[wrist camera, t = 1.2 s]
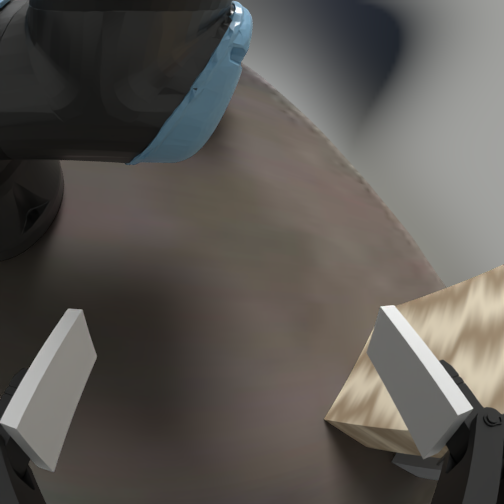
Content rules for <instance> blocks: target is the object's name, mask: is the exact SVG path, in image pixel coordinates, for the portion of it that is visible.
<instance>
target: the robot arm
mask: <svg viewBox="0 0 504 504" xmlns="http://www.w3.org/2000/svg"><path fill="white" fill-rule="evenodd" d="M251 36H252V17H251V15H250V13H249V11H248V10H247V9H246V8H245V7H243V6H242V5H241V4H240V3H239V2H235V1H233V0H0V261H1V260H6V259H9V258H12V257H14V256H16V255H18V254H20V253H22V252H24V251H25V250H27V249H28V248H29V247H31V246H32V245H33V244H34V243H35V242H36V241H37V240H38V239H39V238H40V237H41V236H42V235H43V234H44V233H45V231H46V230H47V229H48V227H49V226H50V224H51V223H52V221H53V219H54V217H55V215H56V213H57V211H58V209H59V206H60V203H61V199H62V195H63V187H64V180H63V173H62V169H61V165H60V161H59V160H78V161H101V162H119V163H125V164H126V165H131V164H132V165H135V164H138V163H140V162H161V163H175V162H180V161H183V160H185V159H188V158H190V157H191V156H193V155H194V154H195V153H196V152H198V151H199V150H200V149H201V148H202V147H203V146H204V144H205V143H206V142H207V141H208V139H209V138H210V136H211V135H212V133H213V132H214V130H215V129H216V127H217V125H218V123H219V122H220V120H221V118H222V116H223V114H224V112H225V110H226V108H227V106H228V104H229V102H230V99H231V97H232V95H233V93H234V90H235V88H236V85H237V83H238V80H239V78H240V75H241V71H242V67H241V61H242V60H243V58H244V56H245V55H246V53H247V51H248V48H249V45H250V40H251ZM366 353H367V355H368V357H369V358H370V360H371V362H372V364H373V365H374V367H375V369H376V371H377V373H378V374H379V376H380V378H381V380H382V382H383V383H384V385H385V387H386V389H387V391H388V393H389V394H390V396H391V398H392V400H393V402H394V404H395V406H396V407H397V409H398V411H399V413H400V415H401V417H402V419H403V421H404V423H405V425H406V426H407V428H408V430H409V432H410V434H411V436H412V438H413V440H414V442H415V444H416V446H417V448H418V450H419V452H420V454H421V456H422V458H423V459H425V458H428V457H430V456H433V455H435V454H437V453H439V452H440V451H441V449H442V448H443V447H444V446H445V445H446V446H447V448H448V449H449V450H448V451H447V452H446V453H445V454H444V455H443V456H442V457H441V459H440V460H439V461H438V462H437V464H436V465H437V466H439V465H440V463H441V462H442V461H443V460H444V462H443V465H442V469H441V473H440V477H439V480H438V483H437V487H436V490H435V493H434V496H433V499H432V502H431V504H504V414H501V413H500V412H499V411H497V410H496V409H494V408H492V407H485V408H484V407H483V406H482V405H481V404H480V402H479V401H478V400H477V398H476V397H475V395H474V394H473V393H472V391H471V390H470V389H469V387H468V386H467V385H466V383H464V381H463V379H462V378H461V377H459V374H458V373H457V371H456V370H455V369H454V368H453V366H451V365H450V364H449V363H447V362H446V361H444V360H439V361H438V359H437V358H436V357H435V355H434V354H433V353H432V352H431V350H430V349H429V348H428V346H427V345H426V344H425V343H424V341H423V340H422V339H421V338H420V336H419V335H418V334H417V333H416V331H415V330H414V329H413V328H412V326H411V325H410V324H409V323H408V322H407V320H406V319H405V318H404V317H403V315H402V314H401V313H400V312H399V311H398V309H397V308H396V307H395V306H394V305H391V306H380V309H379V312H378V316H377V320H376V323H375V326H374V330H373V333H372V336H371V340H370V343H369V346H368V349H367V352H366ZM96 359H97V355H96V352H95V349H94V346H93V343H92V340H91V337H90V334H89V330H88V327H87V324H86V320H85V317H84V313H83V309H69V308H68V309H67V311H66V312H65V314H64V315H63V317H62V318H61V320H60V321H59V322H58V324H57V325H56V327H55V328H54V330H53V331H52V333H51V334H50V336H49V337H48V339H47V340H46V342H45V344H44V345H43V347H42V348H41V350H40V351H39V353H38V355H37V356H36V358H35V359H34V361H33V363H32V364H31V366H30V368H29V369H25V368H23V369H22V370H20V371H19V372H18V373H17V374H16V375H15V376H14V377H13V379H12V381H11V382H10V384H9V387H7V389H6V391H5V392H4V393H5V394H3V396H2V398H1V400H0V504H46V502H45V500H44V498H43V496H42V494H41V492H40V489H39V487H38V485H37V482H36V480H35V477H34V475H33V473H32V470H31V468H30V467H29V465H28V463H29V461H30V459H31V460H32V462H33V463H34V464H35V465H36V466H37V467H40V468H42V469H45V470H48V471H51V472H54V471H55V468H56V464H57V461H58V458H59V455H60V452H61V449H62V446H63V443H64V440H65V437H66V434H67V431H68V429H69V426H70V423H71V420H72V418H73V415H74V412H75V410H76V407H77V404H78V402H79V399H80V397H81V394H82V392H83V389H84V387H85V384H86V382H87V380H88V377H89V375H90V372H91V370H92V368H93V365H94V363H95V361H96Z"/></svg>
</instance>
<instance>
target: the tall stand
mask: <svg viewBox="0 0 504 504" xmlns="http://www.w3.org/2000/svg"><path fill="white" fill-rule="evenodd" d="M395 307H396V308H397V309H398V311H399V312H400V313H401V314H402V315H403V317H404V318H405V319H406V320H407V322H408V323H409V324H410V325H411V326H412V328H413V329H414V330H415V331H416V333H417V334H418V335H419V336H420V338H421V339H422V340H423V341H424V343H425V344H426V345H427V346H428V348H429V349H430V350H431V352H432V353H433V354H434V355H435V357H436V358H437V359H438V361H439V360H444V361H446V362H447V363H449V364H450V365H451V366H453V368H454V369H455V370H456V371H457V373H458V374H459V377H461V378H462V379H463V381H464V383H466V385H467V386H468V387H469V389H470V390H471V391H472V393H473V394H474V395H475V397H476V398H477V400H478V401H479V402H480V404H481V405H482V406H483V407H484V408H485V407H492V408H494V409H496V410H497V411H499V412H500V413H501V414H504V264H503V265H501V266H499V267H497V268H495V269H492V270H490V271H488V272H485V273H483V274H480V275H478V276H476V277H473V278H471V279H469V280H466V281H463V282H461V283H458V284H456V285H453V286H451V287H448V288H445V289H443V290H440V291H437V292H435V293H432V294H429V295H426V296H424V297H421V298H418V299H415V300H412V301H409V302H406V303H404V304H401V305H398V306H395ZM373 330H374V328H373ZM373 330H372V332H371V334H370V336H369V338H368V341H367V343H366V345H365V347H364V349H363V351H362V353H361V355H360V356H359V358H358V360H357V362H356V364H355V366H354V368H353V370H352V372H351V374H350V375H349V377H348V379H347V381H346V383H345V384H344V386H343V388H342V390H341V391H340V393H339V395H338V397H337V398H336V400H335V402H334V403H333V405H332V407H331V409H330V410H329V412H328V413H327V415H326V417H325V418H324V420H326V421H327V422H329V423H330V424H332V425H333V426H335V427H336V428H338V429H339V430H341V431H342V432H344V433H345V434H347V435H348V436H350V437H352V438H353V439H355V440H356V441H358V442H359V443H361V444H363V445H364V446H366V447H370V448H375V449H380V450H385V451H391V452H397V453H404V454H411V455H418V456H421V454H420V452H419V450H418V448H417V446H416V444H415V442H414V440H413V438H412V436H411V434H410V432H409V430H408V428H407V426H406V425H405V423H404V421H403V419H402V417H401V415H400V413H399V411H398V409H397V407H396V406H395V404H394V402H393V400H392V398H391V396H390V394H389V393H388V391H387V389H386V387H385V385H384V383H383V382H382V380H381V378H380V376H379V374H378V373H377V371H376V369H375V367H374V365H373V364H372V362H371V360H370V358H369V357H368V355H367V353H366V352H367V349H368V346H369V343H370V340H371V336H372V333H373ZM448 450H449V449H448V448H447V446H446V445H445V446H444V447H443V448H442V449H441V451H440V452H439V453H437V454H435V455H433V456H430V457H435V458H441V457H442V456H443V455H444V454H445V453H446V452H447V451H448Z"/></svg>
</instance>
